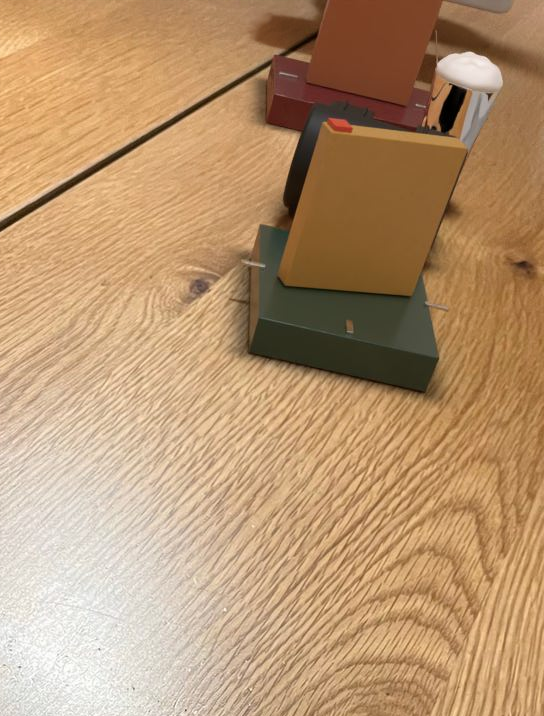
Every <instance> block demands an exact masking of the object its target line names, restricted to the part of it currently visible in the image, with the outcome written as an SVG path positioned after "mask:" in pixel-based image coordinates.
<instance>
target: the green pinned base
mask: <svg viewBox="0 0 544 716" xmlns="http://www.w3.org/2000/svg"><path fill="white" fill-rule="evenodd" d="M289 234H290V230H289V229H285V228H280V227H276V226H271V225H267V224H263V223H260V224H259V225H258V229H257V233H256V236H255V240H254V244H253V247H252V250H251V254H250V260H248V259H243V258H241V259H240V265H242V266H247V267H250V278H249V279H250V281H249V320H248V321H249V322H248V323H249V327H248V328H249V330H248V332H249V333H248V337H249V338H248V353H249V354H254V355H259V356H263V357H267V358H272V359H276V360H280V361H286V362H289V363H295V364H298V365H303V366H308V367H312V368H317V369H320V370H325V371H330V372H335V373H339V374H344V375H347V376H352V377H356V378H359V379H365V380H370V381H374V382H379V383H383V384H387V385H392V386H397V387H400V388H405V389H409V390H415V391H417V392H422V393H426V391H427V390H428V388H429V385H430V382H431V380H432V377H433V375H434V373H435V371H436V368H437V366H438V363H439V361H440V354H439V350H438V343H437V339H436V335H435V330H434V326H433V321H432V316H431V309H436V310H439V311H444V312H449V311H450V307H449V306H448V305H444V304H440V303H435V302H431V301H428V295H427V291H426V285H425V281H424V275H423V270H422V271H421V273H420V276H419V279H418V281H417V284H416V287H415V289H414V292H413V294H412V296H402V295H390V294H378V293H366V292H354V291H341V290H329V289H317V288H305V287H293V286H285V285H284V284H283V282H282V281H281V279H280V278H279V276H278V271H279V267H280V264H281V260H282V257H283V254H284V250H285V247H286V244H287V240H288V237H289ZM430 308H431V309H430Z"/></svg>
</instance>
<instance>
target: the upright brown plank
mask: <svg viewBox="0 0 544 716" xmlns="http://www.w3.org/2000/svg"><path fill="white" fill-rule="evenodd" d="M443 2H444V1H443V0H327V1H326V4H325V8H324V11H323V14H322V19H321V22H320V25H319V28H318V33H317V36H316V40H315V43H314V46H313V51H312V53H311V57H310V61H309V63H310V64H309V68H308V71H307V75H306V82H307V83H310V84H315V85H319V86H323V87H327V88H331V89H336V90H340V91H344V92H348V93H353V94H357V95H361V96H365V97H369V98H374V99H378V100H382V101H386V102H390V103H395V104H399V105H403V106H407V105H408V102H409V99H410V96H411V93H412V90H413V87H414V88H415V85H416V82H417V78H418V75H419V73H420V70H421V68H422V63H423V62H424V58H425V55H426V52H427V50H428V46H429V43H430V40H431V37H432V34H433V31H434V29H435V25H436V22H437V20H438V17H439V14H440V11H441V8H442V5H443Z"/></svg>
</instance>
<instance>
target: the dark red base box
mask: <svg viewBox="0 0 544 716" xmlns="http://www.w3.org/2000/svg"><path fill="white" fill-rule="evenodd" d="M272 56H273V57H272V60H271V63H270V68H269V71H268V75H267V79H266V124H270V125H275V126H279V127H283V128H286V129H292V130H295V131H300V132H302V129H303V127H304V124H305V121H306V119H307V117H308V114H309V112H310V110H311V108H312V106H313V105H314V104H315V103H317V102H318V103H322V104H325V105H329V104H330V103H331V102H332V101H335V100H337V101H342V102H345V101H346V100H347V101H349V104H351V105H355V106H358V107H361V108H364V107H366V106H367V107H368V110H371V111H374V112H375V113H374V117H373V119H374V120H377V121H380V122H384V123H387V124H390V125H393V126H397V127H400V128H403V129H406V130H410V131H413V132H415V131H416V129H417V127H418V125H420V126H421V122H422V119H423V115H424V111H425V107H426V103H427V100H428V96H429V92H430V90H425V89H421V88H416V87H415V86H414V87H413V90H412V93H411V96H410V99H409V102H408V105H407V106H403V105H399V104H395V103H390V102H386V101H382V100H378V99H374V98H369V97H365V96H361V95H357V94H353V93H348V92H344V91H340V90H336V89H331V88H327V87H323V86H319V85H315V84H310V83H307V82H306V75H307V71H308V68H309V64H310V61H309V62H308V61H305V60H300V59H295V58H291V57H287V56H283V55H278V54H275V53H274V54H273V55H272Z"/></svg>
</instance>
